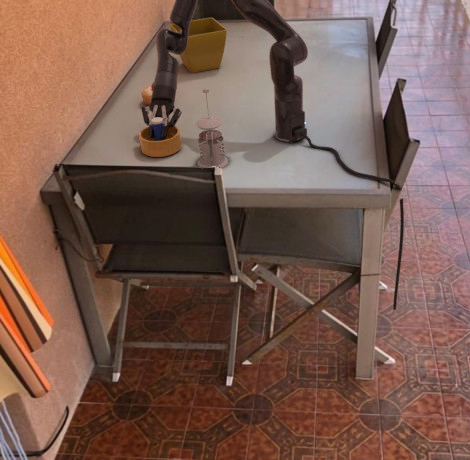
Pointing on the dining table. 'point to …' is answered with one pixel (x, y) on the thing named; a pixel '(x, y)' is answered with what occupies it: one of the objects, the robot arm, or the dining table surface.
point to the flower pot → (203, 44)
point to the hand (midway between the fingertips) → (157, 137)
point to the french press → (210, 141)
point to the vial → (157, 128)
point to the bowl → (160, 143)
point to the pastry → (147, 94)
